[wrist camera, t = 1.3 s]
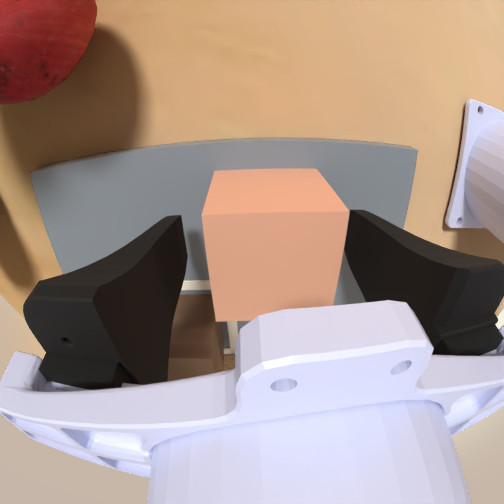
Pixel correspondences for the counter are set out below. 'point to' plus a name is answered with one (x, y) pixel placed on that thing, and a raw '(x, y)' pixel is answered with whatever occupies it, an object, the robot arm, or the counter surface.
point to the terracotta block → (272, 241)
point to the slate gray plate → (195, 193)
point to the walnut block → (195, 338)
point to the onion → (41, 44)
